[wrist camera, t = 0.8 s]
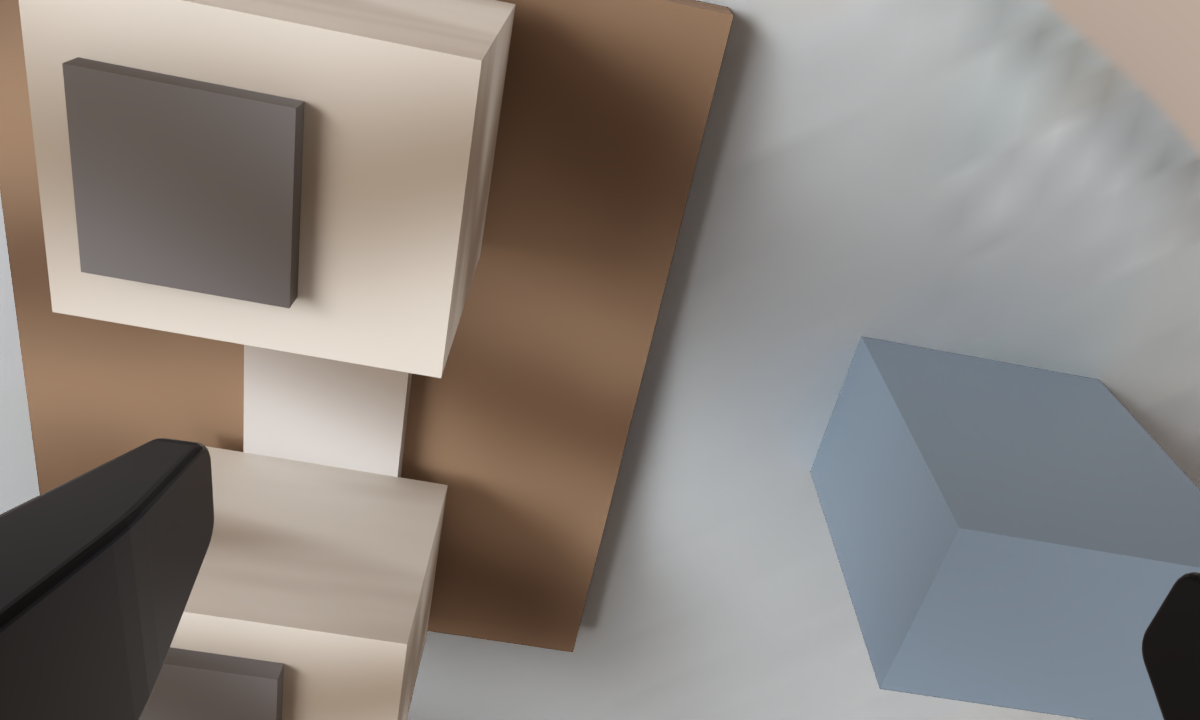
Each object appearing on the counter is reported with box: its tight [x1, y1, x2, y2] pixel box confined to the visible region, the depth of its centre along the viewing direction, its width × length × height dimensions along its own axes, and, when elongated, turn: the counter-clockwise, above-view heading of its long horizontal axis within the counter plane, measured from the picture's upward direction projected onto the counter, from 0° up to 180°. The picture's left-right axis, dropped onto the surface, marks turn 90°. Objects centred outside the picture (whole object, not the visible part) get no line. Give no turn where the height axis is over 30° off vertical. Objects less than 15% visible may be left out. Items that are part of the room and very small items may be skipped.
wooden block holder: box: [0, 0, 733, 720], centre depth 19 cm, size 17×14×7 cm
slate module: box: [810, 337, 1200, 720], centre depth 20 cm, size 4×6×7 cm, turn 79°
